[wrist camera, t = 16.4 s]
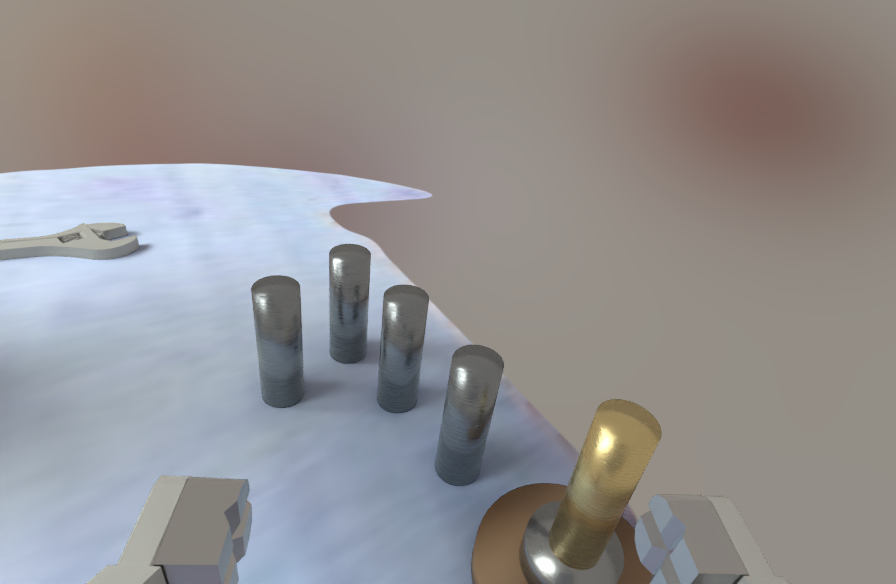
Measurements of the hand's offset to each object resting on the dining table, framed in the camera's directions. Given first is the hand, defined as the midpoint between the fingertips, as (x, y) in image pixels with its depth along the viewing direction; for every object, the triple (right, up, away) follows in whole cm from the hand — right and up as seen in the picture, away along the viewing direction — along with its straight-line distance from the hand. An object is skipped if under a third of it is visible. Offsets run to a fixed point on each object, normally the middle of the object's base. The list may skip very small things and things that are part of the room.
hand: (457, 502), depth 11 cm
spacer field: (-7, -5, +31) cm, 32 cm away
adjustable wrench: (-46, +8, +43) cm, 63 cm away
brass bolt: (+7, -12, +20) cm, 25 cm away
